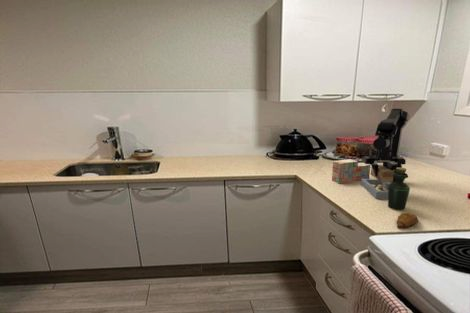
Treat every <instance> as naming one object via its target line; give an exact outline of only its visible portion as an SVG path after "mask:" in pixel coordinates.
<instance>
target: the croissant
mask: <svg viewBox="0 0 470 313" xmlns="http://www.w3.org/2000/svg"><path fill="white" fill-rule="evenodd" d="M418 223H419V219H418V216H417V215H416V214H414V213H411V212H402V213H401V214H399V215H398V216H397V220H396V226H397V229H407V228H411V227H414V226H415V225H417V224H418Z"/></svg>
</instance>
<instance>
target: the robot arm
mask: <svg viewBox="0 0 470 313" xmlns="http://www.w3.org/2000/svg"><path fill="white" fill-rule="evenodd" d="M409 116H410V115H409V112H408V111H405V110H404V109H403V108H392V109H390V113H389V114H388V115H387V117H386V119H381V121H380V122H379V123H378V124H377V127H376V129H375V130H376V131H375V135H374V136H375V137H377V138H376V139H374V140H373V142H372V145H373V149H370V148H369V152H368V154H369V156H367V155H366V156H363V157H362V159H361V163H365V164H368V165H370V166H371V168H372V167H373V170H374V174H375V176H376V177H377V173H378V165H379V164H378V163H382V166H384V167H386V168H388V169H390V170H392V171H394V172H396V168H397V167H401V168H403V165H406V161H407V159H406V158H404V157H401V156H399V150H400V145H401V144H400V143H401V137H402V132H403V129H404V127H405V126H406V125H407V123H408V121H409V120H410V119H409ZM375 149H376V150H375ZM393 182H396V180H395V177H394V176H393ZM389 183H392V182H389Z"/></svg>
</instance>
